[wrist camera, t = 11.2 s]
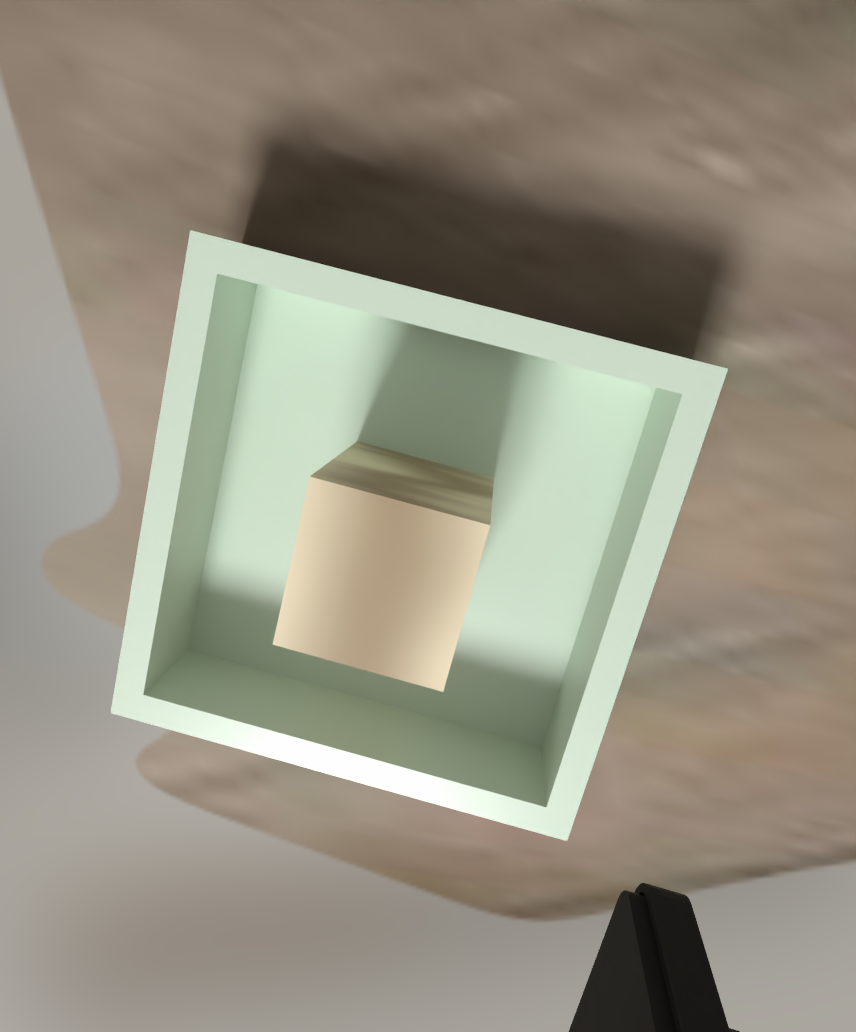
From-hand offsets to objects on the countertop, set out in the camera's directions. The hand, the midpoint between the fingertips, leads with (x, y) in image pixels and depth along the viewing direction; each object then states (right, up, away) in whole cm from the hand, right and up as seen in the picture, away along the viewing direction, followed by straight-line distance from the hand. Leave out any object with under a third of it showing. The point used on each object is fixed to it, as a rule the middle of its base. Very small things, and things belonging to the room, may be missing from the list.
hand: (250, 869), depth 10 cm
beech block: (+2, +4, +18) cm, 19 cm away
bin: (+2, +4, +19) cm, 19 cm away
